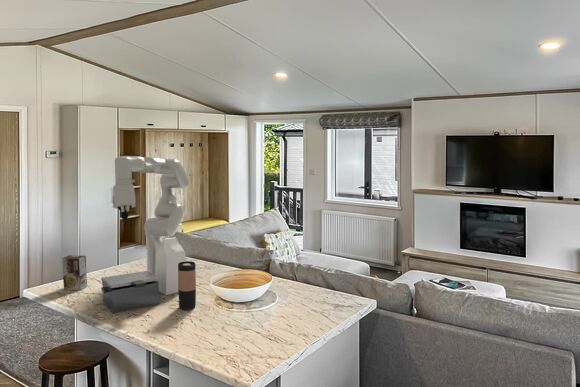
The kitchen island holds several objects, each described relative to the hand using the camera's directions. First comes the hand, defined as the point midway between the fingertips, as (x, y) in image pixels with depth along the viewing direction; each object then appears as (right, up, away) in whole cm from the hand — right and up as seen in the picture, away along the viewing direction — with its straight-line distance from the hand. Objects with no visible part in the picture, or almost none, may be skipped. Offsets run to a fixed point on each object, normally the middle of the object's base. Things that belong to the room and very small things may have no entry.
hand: (124, 219), depth 220 cm
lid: (+11, -27, -20) cm, 35 cm away
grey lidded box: (+9, -37, -16) cm, 41 cm away
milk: (+22, -35, +4) cm, 42 cm away
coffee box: (-26, -35, +4) cm, 44 cm away
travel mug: (+36, -38, -21) cm, 56 cm away
